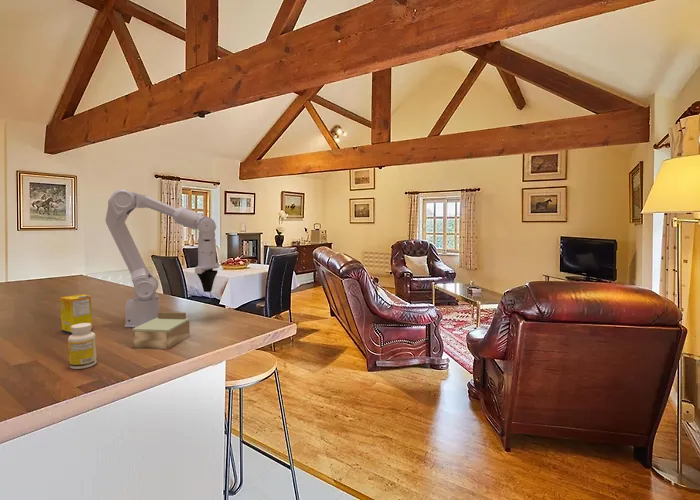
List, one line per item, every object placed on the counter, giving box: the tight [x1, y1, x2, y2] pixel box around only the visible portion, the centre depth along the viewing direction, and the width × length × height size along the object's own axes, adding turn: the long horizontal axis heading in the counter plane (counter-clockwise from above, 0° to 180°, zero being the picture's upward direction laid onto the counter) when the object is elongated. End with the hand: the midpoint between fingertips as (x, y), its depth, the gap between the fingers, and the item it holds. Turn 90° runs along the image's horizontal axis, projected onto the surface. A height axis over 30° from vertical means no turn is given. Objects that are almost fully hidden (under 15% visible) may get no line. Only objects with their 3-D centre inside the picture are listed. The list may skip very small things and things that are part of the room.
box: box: [131, 320, 191, 350], centre depth 111 cm, size 10×12×4 cm
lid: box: [131, 311, 190, 332], centre depth 110 cm, size 10×12×2 cm
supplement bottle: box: [67, 323, 98, 370], centre depth 92 cm, size 5×5×10 cm
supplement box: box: [59, 293, 94, 335], centre depth 119 cm, size 6×6×11 cm
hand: (207, 291), depth 134 cm, fingers closed
